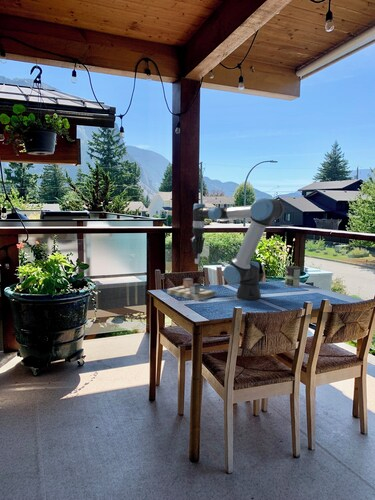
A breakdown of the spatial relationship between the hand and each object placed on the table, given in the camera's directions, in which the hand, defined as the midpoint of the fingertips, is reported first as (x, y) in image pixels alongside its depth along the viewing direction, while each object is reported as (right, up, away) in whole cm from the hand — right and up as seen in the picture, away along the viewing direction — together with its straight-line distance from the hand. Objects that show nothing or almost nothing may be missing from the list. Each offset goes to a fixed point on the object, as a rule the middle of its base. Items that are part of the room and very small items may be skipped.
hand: (197, 263), depth 239 cm
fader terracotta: (-6, -15, +2) cm, 17 cm away
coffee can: (+70, -18, +28) cm, 78 cm away
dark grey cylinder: (+39, -17, +26) cm, 50 cm away
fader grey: (-2, -17, -15) cm, 23 cm away
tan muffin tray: (-4, -20, -7) cm, 21 cm away
